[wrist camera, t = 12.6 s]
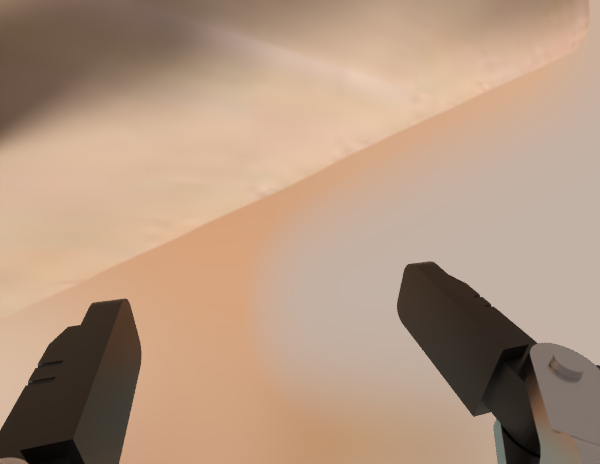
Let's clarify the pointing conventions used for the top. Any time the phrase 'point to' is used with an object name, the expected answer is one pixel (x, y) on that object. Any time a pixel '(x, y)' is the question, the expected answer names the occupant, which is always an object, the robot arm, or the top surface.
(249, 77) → the top surface
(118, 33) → the top surface
